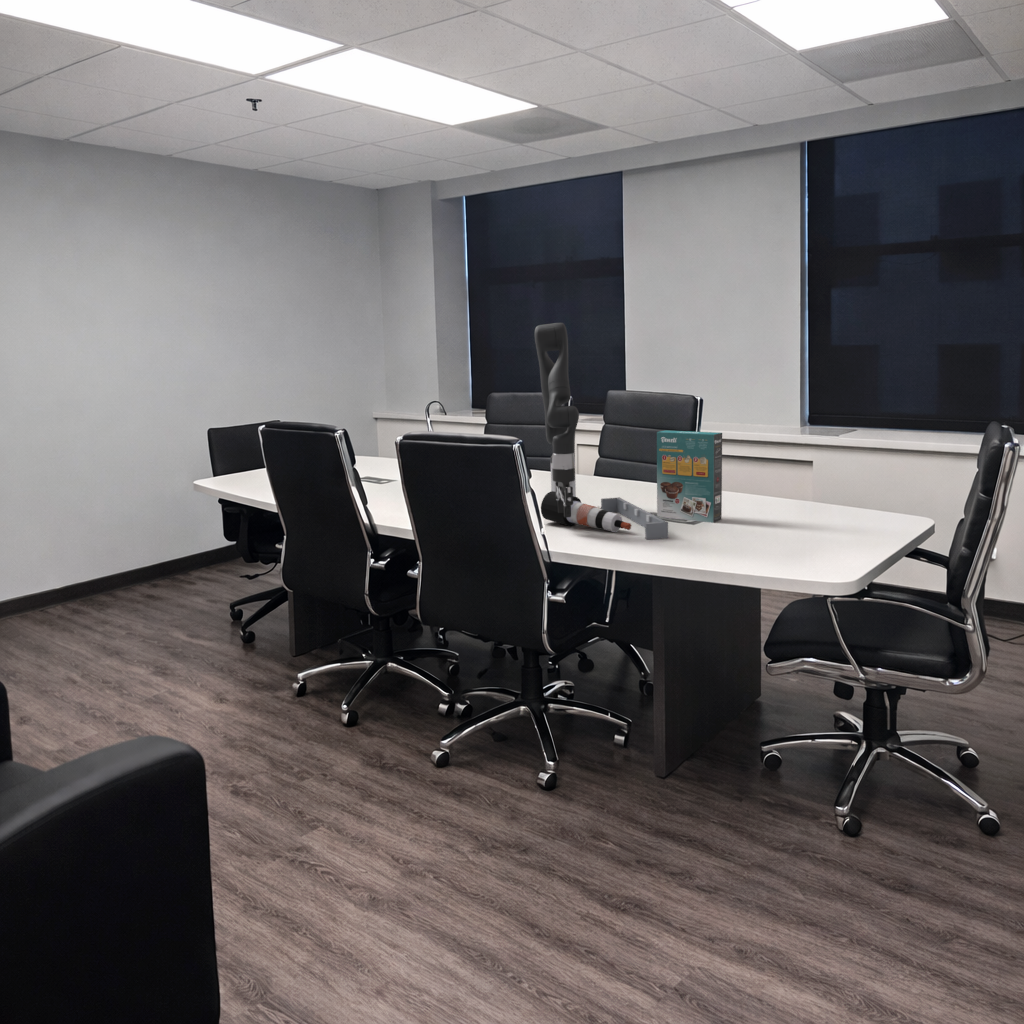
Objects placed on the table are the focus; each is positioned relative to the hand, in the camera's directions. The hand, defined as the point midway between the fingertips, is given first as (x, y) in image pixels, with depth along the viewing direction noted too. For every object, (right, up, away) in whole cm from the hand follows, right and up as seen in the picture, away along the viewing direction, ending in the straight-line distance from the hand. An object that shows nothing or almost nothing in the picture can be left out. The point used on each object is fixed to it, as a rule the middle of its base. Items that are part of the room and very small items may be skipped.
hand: (564, 514), depth 307 cm
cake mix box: (+44, -1, +15) cm, 47 cm away
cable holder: (+24, -3, +8) cm, 25 cm away
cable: (+8, -5, +4) cm, 10 cm away
